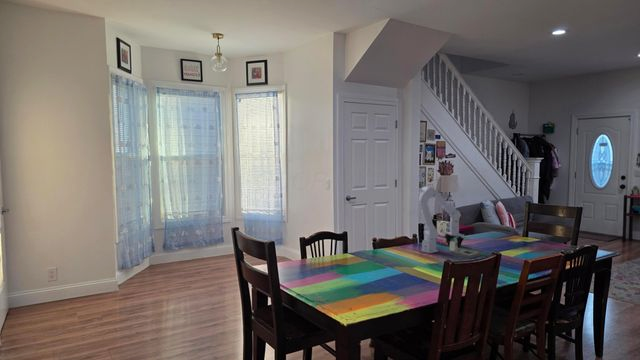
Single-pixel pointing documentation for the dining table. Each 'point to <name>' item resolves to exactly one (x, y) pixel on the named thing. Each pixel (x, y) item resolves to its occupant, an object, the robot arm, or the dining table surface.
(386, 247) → the dining table surface
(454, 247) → the charger
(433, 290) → the dining table surface
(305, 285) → the dining table surface
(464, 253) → the power strip
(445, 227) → the candy bar box
